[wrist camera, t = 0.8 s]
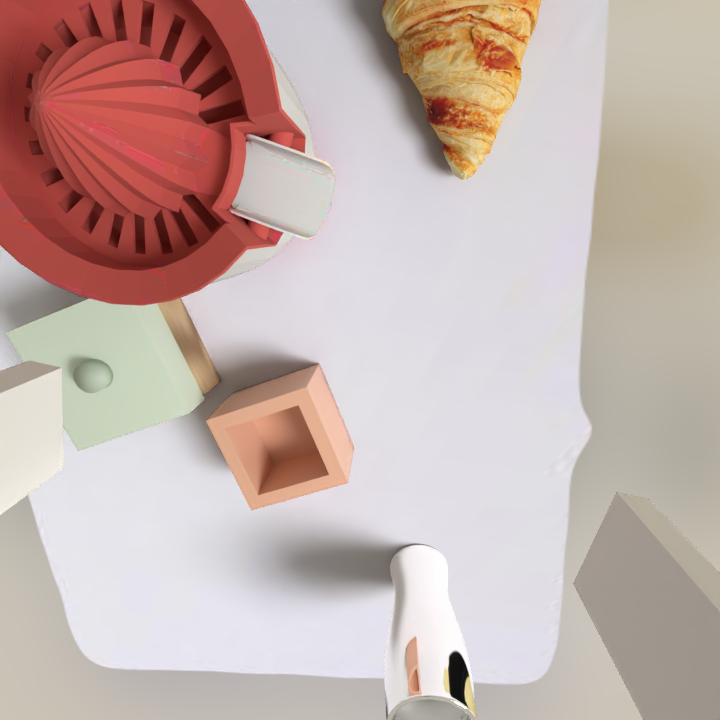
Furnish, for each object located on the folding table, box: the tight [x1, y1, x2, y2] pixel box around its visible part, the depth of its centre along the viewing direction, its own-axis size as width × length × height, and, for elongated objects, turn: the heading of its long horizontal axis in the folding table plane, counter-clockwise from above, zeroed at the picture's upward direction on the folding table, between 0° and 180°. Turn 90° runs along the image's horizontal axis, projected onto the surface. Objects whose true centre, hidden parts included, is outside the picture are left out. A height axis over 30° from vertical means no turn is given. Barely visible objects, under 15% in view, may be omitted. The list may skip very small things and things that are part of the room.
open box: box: [206, 364, 354, 510], centre depth 37 cm, size 9×9×6 cm
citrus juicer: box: [0, 0, 335, 306], centre depth 24 cm, size 16×17×20 cm
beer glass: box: [384, 545, 477, 720], centre depth 37 cm, size 7×7×15 cm
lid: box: [6, 299, 205, 451], centre depth 34 cm, size 11×11×4 cm
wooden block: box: [157, 298, 221, 394], centre depth 37 cm, size 10×12×3 cm
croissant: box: [382, 0, 541, 180], centre depth 27 cm, size 21×10×8 cm, turn 7°
